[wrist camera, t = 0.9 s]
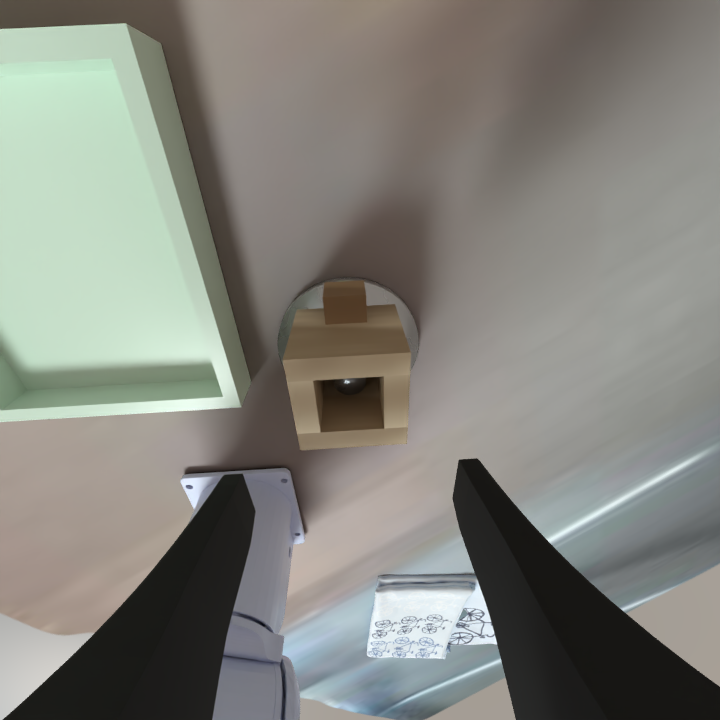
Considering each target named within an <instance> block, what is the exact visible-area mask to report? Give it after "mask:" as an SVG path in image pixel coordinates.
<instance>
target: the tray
mask: <svg viewBox="0 0 720 720" xmlns="http://www.w3.org/2000/svg"><path fill="white" fill-rule="evenodd" d="M250 384H251V379H250V376H249V372H248V368H247V364H246V361H245V357H244V353H243V349H242V346H241V342H240V338H239V334H238V331H237V327H236V323H235V319H234V316H233V312H232V308H231V304H230V301H229V297H228V293H227V289H226V286H225V282H224V278H223V274H222V271H221V267H220V263H219V259H218V256H217V252H216V248H215V244H214V241H213V237H212V233H211V229H210V226H209V222H208V218H207V214H206V211H205V207H204V203H203V199H202V196H201V192H200V188H199V184H198V181H197V177H196V173H195V169H194V166H193V162H192V158H191V154H190V151H189V147H188V143H187V139H186V136H185V132H184V128H183V124H182V121H181V117H180V113H179V109H178V106H177V102H176V98H175V94H174V91H173V87H172V83H171V79H170V76H169V72H168V68H167V64H166V60H165V57H164V53H163V49H162V45H161V43H159V42H158V41H156V40H154V39H152V38H151V37H149V36H147V35H145V34H144V33H142V32H140V31H138V30H137V29H135V28H133V27H131V26H130V25H128V24H126V23H122V24H100V25H78V26H56V27H35V28H13V29H0V422H9V421H25V420H41V419H58V418H74V417H91V416H107V415H123V414H140V413H156V412H173V411H189V410H205V409H222V408H238V407H242V404H243V402H244V399H245V397H246V394H247V392H248V389H249V386H250Z"/></svg>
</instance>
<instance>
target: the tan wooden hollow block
mask: <svg viewBox="0 0 720 720" xmlns="http://www.w3.org/2000/svg"><path fill="white" fill-rule="evenodd" d="M322 298H323V307H324V308H318V309H300V310H297V311H296V314H295V318H294V322H293V325H292V329H291V332H290V336H289V339H288V343H287V346H286V350H285V353H284V357H283V365H284V370H285V375H286V380H287V385H288V390H289V396H290V401H291V406H292V411H293V416H294V421H295V426H296V431H297V436H298V441H299V446H300V450H315V449H331V448H347V447H363V446H379V445H395V444H407V431H408V409H409V386H410V363H411V351H410V348H409V345H408V342H407V339H406V336H405V333H404V330H403V327H402V324H401V321H400V318H399V315H398V312H397V309H396V306H395V304H387V305H370V306H367V305H366V291H365V284H364V280H358V281H340V282H324V290H323V297H322ZM365 377H366V385H365V387H364V389H363V390H362V391H361V392H359V393H357V394H354V395H345V394H342V393H340V392H339V391H337V389H336V388H335V386H334V379H348V378H365Z"/></svg>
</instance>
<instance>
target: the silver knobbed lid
mask: <svg viewBox="0 0 720 720" xmlns="http://www.w3.org/2000/svg"><path fill="white" fill-rule="evenodd" d="M358 280H364V284H365V291H366V305H367V306H370V305H387V304H395V306H396V309H397V312H398V315H399V318H400V321H401V324H402V327H403V330H404V333H405V336H406V339H407V342H408V345H409V348H410V351H411V363H410V371H411V369H412V367H413V365H414V363H415V361H416V357H417V354H418V347H419V337H418V331H417V327H416V324H415V321H414V318H413V316H412V314H411V312H410V310H409V309H408V307H407V306H406V304H405V303H404V302H403V301H402V300H401V298H400V297H399V296H398V295H396V294H395V293H394V292H393V291H391V290H390V289H388V288H386V287H385V286H383V285H381V284H378V283H376V282H374V281H370V280H366V279H362V278H354V277H343V278H335V279H331V280H327V281H323V282H321V283H318V284H316V285H314V286H312V287H311V288H309V289H307V290H306V291H304V292H303V293H302V294H300V295H299V296H298V297H297V298H296V299H295V300H294V301H293V303H292V304H291V305H290V307H289V308H288V310H287V312H286V313H285V315H284V318H283V321H282V323H281V326H280V329H279V335H278V351H279V356H280V359H281V362H282V364H283V357H284V353H285V350H286V346H287V343H288V339H289V336H290V332H291V329H292V325H293V322H294V318H295V314H296V311H297V310H300V309H318V308H324V307H323V298H322V297H323V290H324V282H340V281H358ZM283 367H284V365H283ZM365 385H366V377H365V378H348V379H334V386H335V388H336V389H337V391H339V392H340V393H342V394H345V395H354V394H357V393H359V392H361V391H362V390H363V389H364V387H365Z"/></svg>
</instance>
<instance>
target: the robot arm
mask: <svg viewBox="0 0 720 720" xmlns="http://www.w3.org/2000/svg"><path fill="white" fill-rule="evenodd" d="M180 482H181V484H182V486H183V488H184V490H185V492H186V494H187V496H188V498H189V500H190V502H191V504H192V506H193V508H194V512H193V514H192V517H191V519H190V522H189V524H188V525H187V527H186V528H185V529H184V531H183V532H182V533H181V535H180V536H179V537H178V539H177V540H176V541H175V543H174V544H173V545H172V546H171V548H170V549H169V550H168V551H167V553H166V554H165V555H164V556H163V558H162V559H161V560H160V561H159V562H158V564H157V565H156V566H155V567H154V569H153V570H152V571H151V572H150V573H149V575H148V576H147V577H146V578H145V579H144V580H143V582H142V583H141V584H140V585H139V586H138V587H137V588H136V590H135V591H134V592H133V593H132V594H131V595H130V596H129V597H128V599H127V600H126V601H125V602H124V603H123V604H122V605H121V606H120V607H119V608H118V610H117V611H116V612H115V613H114V614H113V615H112V616H111V617H110V618H109V619H108V620H107V621H106V622H105V623H104V624H103V625H102V626H101V627H100V628H99V629H98V630H97V631H96V632H95V633H94V634H93V636H92V637H91V638H90V639H89V640H88V641H87V642H86V643H85V644H84V645H83V646H82V647H81V648H80V649H79V650H78V651H77V652H76V653H74V654H73V655H72V656H71V657H70V658H69V659H68V660H67V661H66V662H65V663H64V664H63V665H62V666H61V667H60V668H59V669H58V670H57V671H55V672H54V673H53V674H52V675H51V676H50V677H49V678H48V679H47V680H46V681H45V682H44V683H43V684H42V685H41V686H39V687H38V688H37V689H36V690H35V691H34V692H33V693H32V694H31V695H30V696H29V697H28V698H27V699H25V700H24V701H23V702H22V703H21V704H20V705H19V706H18V707H17V708H16V709H15V710H13V711H12V712H11V713H10V714H9V715H8V716H7V717H5V718H4V719H3V720H300V693H299V685H298V680H297V677H296V674H295V671H294V667H293V665H292V662H291V660H290V659H289V658H288V657H286V656H283V655H282V651H283V643H284V636H282V635H278V633H279V631H280V628H281V626H282V623H283V619H284V614H285V606H286V598H287V590H288V582H289V574H290V566H291V558H292V550H293V544H301V543H304V542H305V534H304V529H303V525H302V521H301V516H300V512H299V508H298V503H297V499H296V495H295V490H294V486H293V482H292V477H291V473H290V471H289V470H288V469H286V468H276V469H260V470H244V471H228V472H213V473H197V474H185V475H183V476H182V478H181V480H180ZM453 502H454V507H455V511H456V516H457V520H458V524H459V528H460V531H461V534H462V537H463V540H464V543H465V546H466V549H467V552H468V554H469V557H470V560H471V563H472V566H473V569H474V571H475V574H476V577H477V580H478V583H479V586H480V589H481V591H482V594H483V597H484V600H485V603H486V606H487V609H488V612H489V615H490V619H491V622H492V626H493V630H494V634H495V637H496V641H497V645H498V649H499V653H500V656H501V660H502V664H503V668H504V672H505V676H506V680H507V685H508V689H509V692H510V697H511V701H512V705H513V709H514V713H515V718H516V720H720V687H719V686H718V685H717V684H715V683H714V682H712V681H711V680H709V679H708V678H707V677H705V676H704V675H703V674H701V673H700V672H699V671H697V670H696V669H695V668H693V667H692V666H691V665H689V664H688V663H687V662H685V661H684V660H683V659H682V658H680V657H679V656H678V655H676V654H675V653H674V652H672V651H671V650H670V649H669V648H668V647H666V646H665V645H663V644H662V643H661V642H660V641H659V640H657V639H656V638H655V637H653V636H652V635H651V634H650V633H649V632H647V631H646V630H645V629H644V628H643V627H641V626H640V625H639V624H638V623H637V622H635V621H634V620H633V619H632V618H631V617H629V616H628V615H627V614H626V613H625V612H623V611H622V610H621V609H620V608H619V607H617V606H616V605H615V604H614V603H613V602H611V601H610V600H609V599H608V598H607V597H606V596H605V595H604V594H602V593H601V592H600V591H599V590H598V589H597V588H596V587H595V586H594V585H592V584H591V583H590V582H589V581H588V580H587V579H586V578H585V577H584V576H583V575H582V574H581V573H580V572H578V571H577V570H576V569H575V568H574V567H573V566H572V565H571V564H570V563H569V562H568V561H567V560H566V559H565V558H564V557H563V556H562V555H561V554H560V553H559V552H558V551H557V550H556V549H555V548H554V547H553V546H552V545H551V544H550V543H549V542H548V541H547V540H546V539H545V538H544V537H543V535H542V534H541V533H540V532H539V531H538V530H537V529H536V528H535V527H534V526H533V525H532V524H531V522H530V521H529V520H528V519H527V518H526V517H525V516H524V514H523V513H522V512H521V511H520V510H519V509H518V508H517V506H516V505H515V504H514V503H513V502H512V501H511V499H510V498H509V497H508V496H507V495H506V493H505V492H504V491H503V490H502V489H501V487H500V486H499V485H498V484H497V482H496V481H495V480H494V479H493V477H492V476H491V475H490V474H489V472H488V471H487V470H486V468H485V467H484V466H483V464H482V463H481V462H480V461H479V460H478V459H462V460H459V462H458V468H457V474H456V480H455V486H454V492H453Z"/></svg>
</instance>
